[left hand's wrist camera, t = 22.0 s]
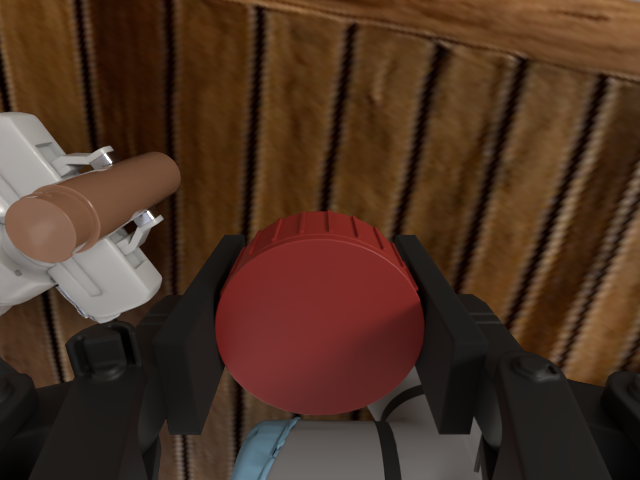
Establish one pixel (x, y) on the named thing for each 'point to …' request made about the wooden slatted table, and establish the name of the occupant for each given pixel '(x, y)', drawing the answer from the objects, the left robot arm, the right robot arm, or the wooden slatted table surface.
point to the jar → (89, 206)
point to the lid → (319, 315)
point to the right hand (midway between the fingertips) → (134, 184)
